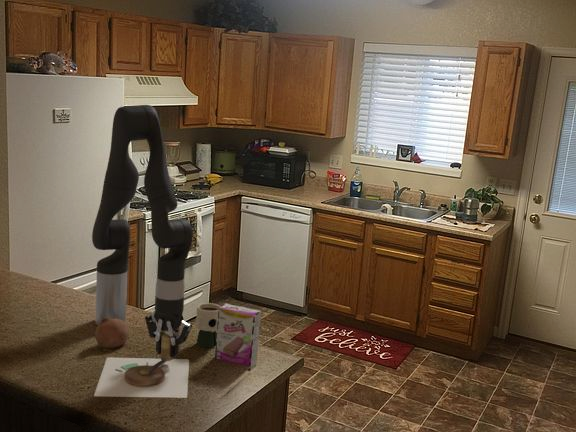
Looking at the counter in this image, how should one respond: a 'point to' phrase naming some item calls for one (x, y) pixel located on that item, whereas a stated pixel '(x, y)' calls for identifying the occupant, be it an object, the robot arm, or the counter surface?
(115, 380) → the dial panel
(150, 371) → the tuning dial
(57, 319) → the counter surface
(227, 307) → the candy bar box
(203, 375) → the counter surface
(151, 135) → the robot arm
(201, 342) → the character mug
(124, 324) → the onion
